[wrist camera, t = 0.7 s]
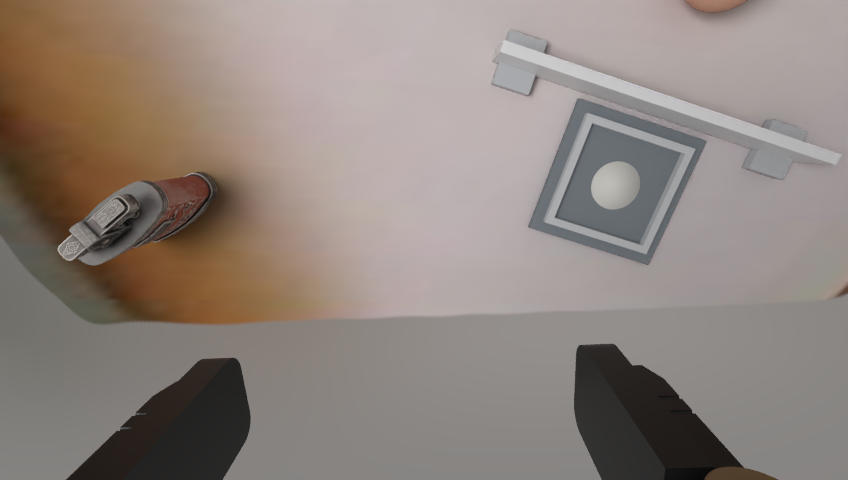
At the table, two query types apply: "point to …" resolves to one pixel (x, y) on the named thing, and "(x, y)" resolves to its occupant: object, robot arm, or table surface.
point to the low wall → (657, 106)
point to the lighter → (138, 217)
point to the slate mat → (615, 181)
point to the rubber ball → (714, 4)
